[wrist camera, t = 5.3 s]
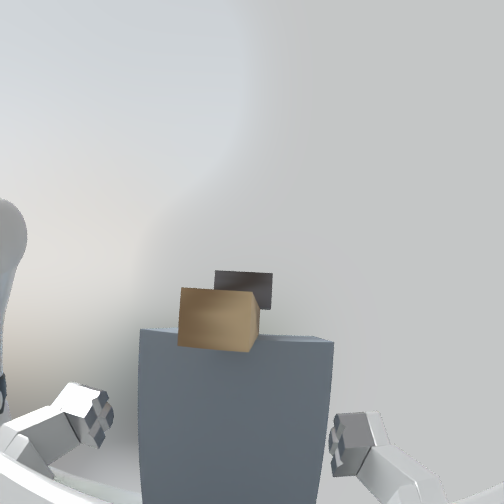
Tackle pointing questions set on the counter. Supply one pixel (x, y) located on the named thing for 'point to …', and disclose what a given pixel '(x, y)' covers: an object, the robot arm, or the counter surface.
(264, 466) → the slate stand
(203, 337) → the oak handled hammer
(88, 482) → the counter surface
